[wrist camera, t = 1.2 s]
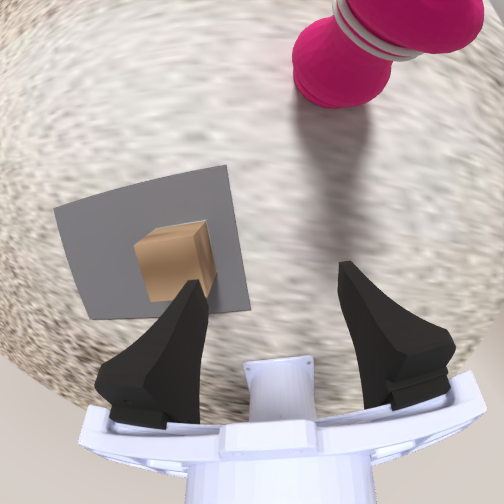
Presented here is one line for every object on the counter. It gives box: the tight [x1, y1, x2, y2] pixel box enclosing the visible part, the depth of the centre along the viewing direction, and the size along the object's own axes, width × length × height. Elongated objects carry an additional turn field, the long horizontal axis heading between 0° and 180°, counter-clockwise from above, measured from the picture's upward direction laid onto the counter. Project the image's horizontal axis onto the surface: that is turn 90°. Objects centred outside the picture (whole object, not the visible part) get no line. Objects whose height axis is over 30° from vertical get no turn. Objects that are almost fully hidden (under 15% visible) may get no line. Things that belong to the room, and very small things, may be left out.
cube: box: [134, 220, 217, 302], centre depth 23 cm, size 5×5×5 cm
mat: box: [53, 165, 251, 319], centre depth 26 cm, size 14×20×1 cm
